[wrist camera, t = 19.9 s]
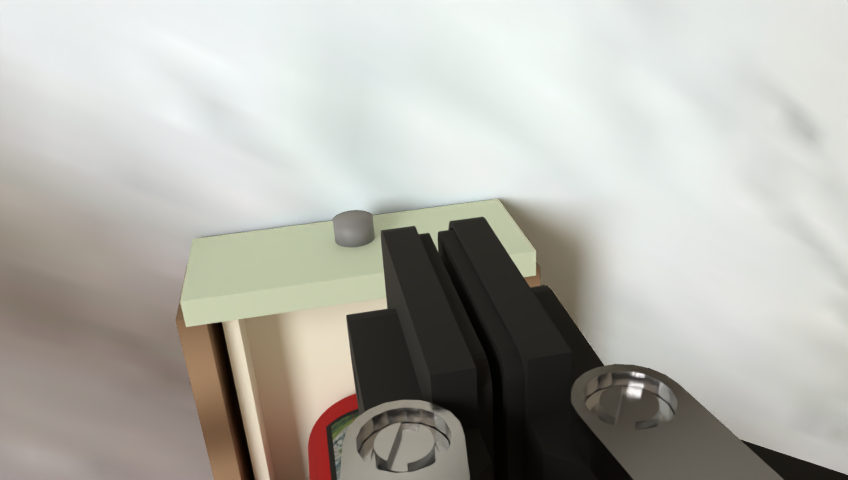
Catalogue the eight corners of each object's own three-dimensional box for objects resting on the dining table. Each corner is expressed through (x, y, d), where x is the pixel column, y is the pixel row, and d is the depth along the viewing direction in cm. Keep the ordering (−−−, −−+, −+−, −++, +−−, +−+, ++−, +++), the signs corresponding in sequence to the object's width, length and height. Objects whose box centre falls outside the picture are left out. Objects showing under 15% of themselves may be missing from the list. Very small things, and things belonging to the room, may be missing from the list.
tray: (188, 219, 35) (175, 279, 29) (497, 180, 37) (536, 229, 31) (253, 515, 43) (251, 603, 38) (502, 469, 45) (533, 546, 40)
